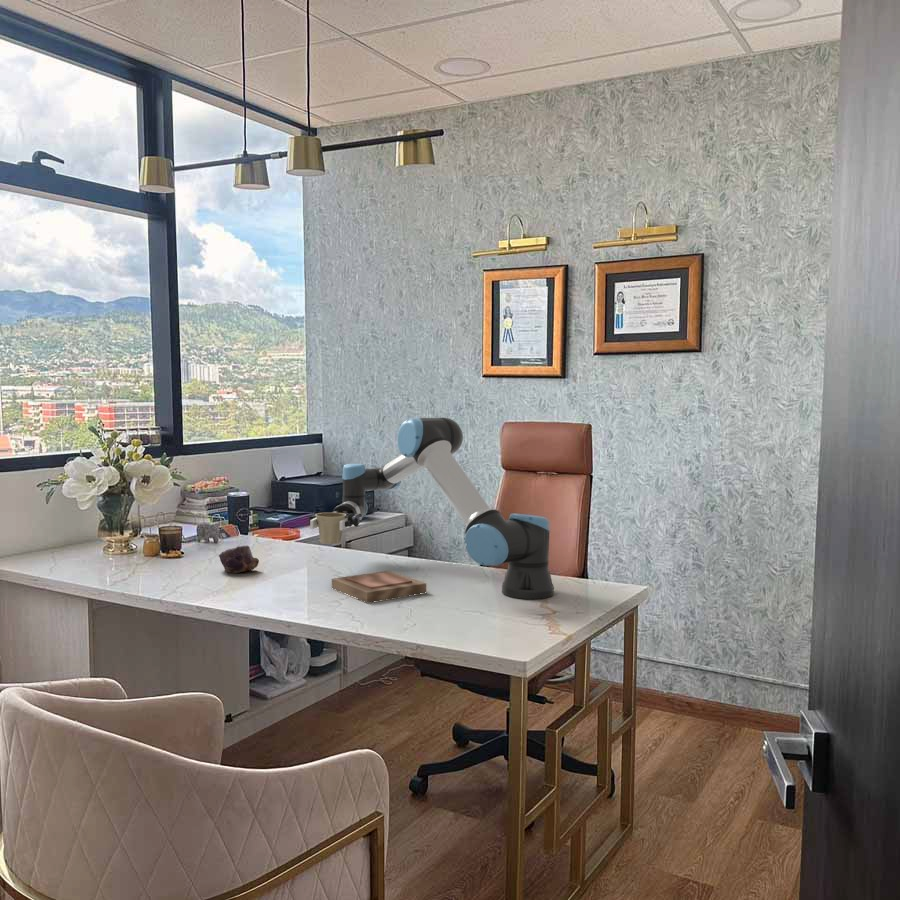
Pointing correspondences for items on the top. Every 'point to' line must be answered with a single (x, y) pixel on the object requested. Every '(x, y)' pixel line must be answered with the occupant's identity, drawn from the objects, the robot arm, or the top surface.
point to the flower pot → (330, 527)
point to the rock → (238, 559)
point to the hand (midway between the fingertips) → (326, 525)
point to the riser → (378, 586)
